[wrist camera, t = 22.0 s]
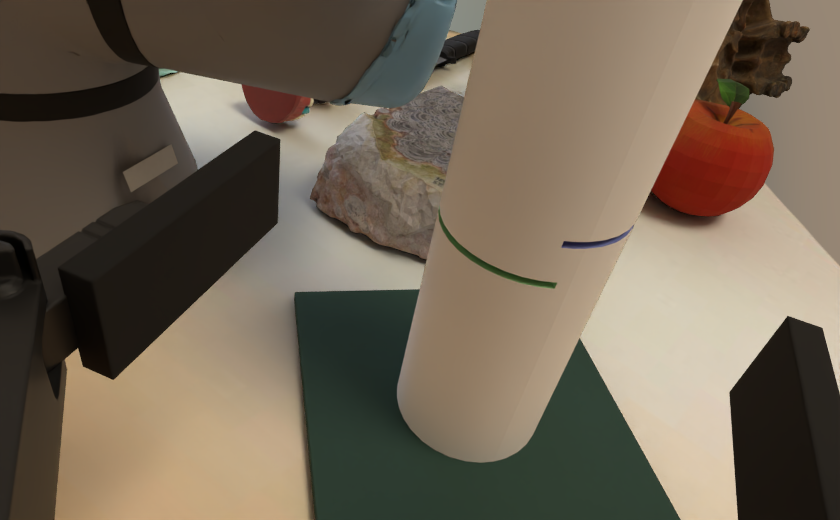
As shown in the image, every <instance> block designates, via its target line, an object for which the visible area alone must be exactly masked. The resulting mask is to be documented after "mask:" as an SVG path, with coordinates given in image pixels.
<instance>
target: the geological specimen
mask: <svg viewBox="0 0 840 520" xmlns="http://www.w3.org/2000/svg"><path fill="white" fill-rule="evenodd" d="M463 101H464V98H463V97H462V96H460V95H458V94H456V93H454V92H451V91H450V90H448V89H446V88H445V87H443V86H439V87H436V88H433V89H431V90H428V91H425V92H423V93H420V94H419V95H418V96H417V97H416V98H414V99H413V100H412V101H411V102H409V103H407V104H405V105H403V106H400V107H396V108H389V109H387V108H380V109H377V110H376V112H375V114H374V115H368V114H367V113H366V112H364V113H361V114H360V115H359V116H358V117H357V119H356V120H355V121H354V122H353V123H352V124H350V125H349V126H348V127H346V128H345V130H344V131H343V133H342V134H341V135H339V136H337V141H336V144H334V145H333V146H331V147H330V148H329V149H328V151H327V153H326V157H325V162H324V164H323V167H322V169H321V170H320V172H319V173H318V176H317V182H316V184H315V186H314V188H313V190H312V193H311V196H310V199H312V200H314V201H315V202H316V203H317V206H316V207H318V208H319V209H320V210H321V211H322V212H323V213H326V214H327V215H329V216H330V217H333V218H337V219H338V220H340V221H342V222H344V223H345V224H347V225H348V227H349V229H350V231H353V232H355V233H363V234H365V235H367V236H368V237H369V238H370V239H371V240H373V241H374V242H376V243H378V244H379V245H383V246H389V247H393V248H396V249H399V250H402V251H405V252H408V253H412V254H415V255H418V256H419V257H420V258H423V259H426V260H427V256H428V252H429V248H430V244H431V239H432V235H433V231H434V227H435V222H436V218H437V214H438V209H439V205H440V201H441V196H442V192H443V187H444V183H445V179H446V174H447V170H448V165H449V161H450V157H451V153H452V148H453V144H454V140H455V135H456V131H457V127H458V122H459V118H460V114H461V110H462V105H463Z"/></svg>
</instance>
